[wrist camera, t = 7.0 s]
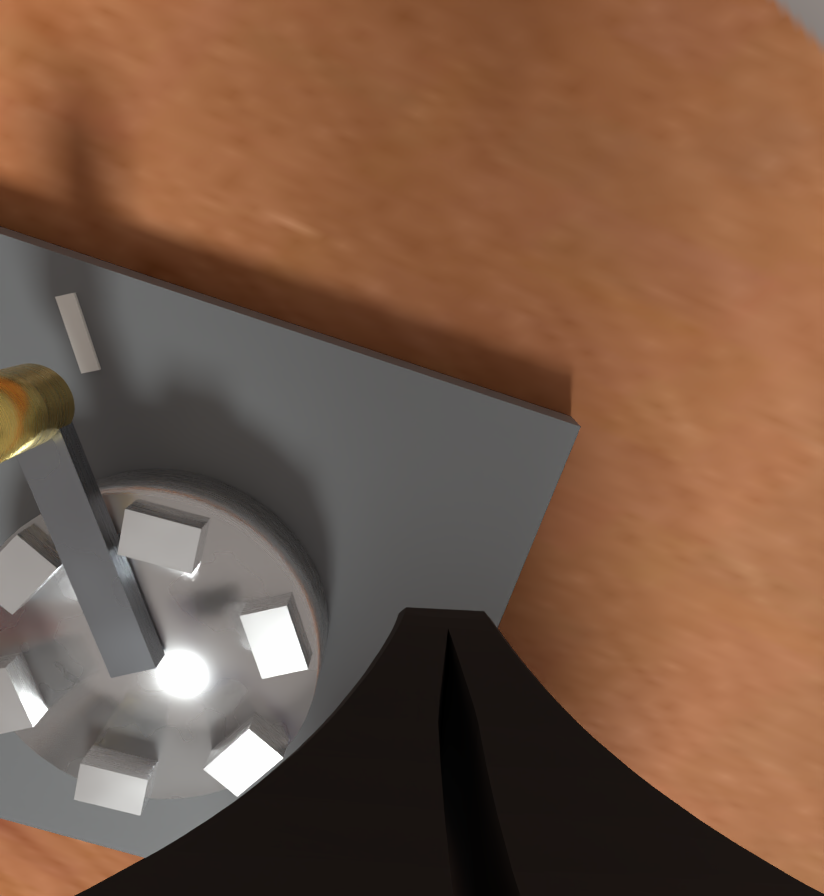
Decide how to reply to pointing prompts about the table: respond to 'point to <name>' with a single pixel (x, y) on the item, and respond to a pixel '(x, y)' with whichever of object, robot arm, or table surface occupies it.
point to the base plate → (274, 473)
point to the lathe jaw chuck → (147, 618)
